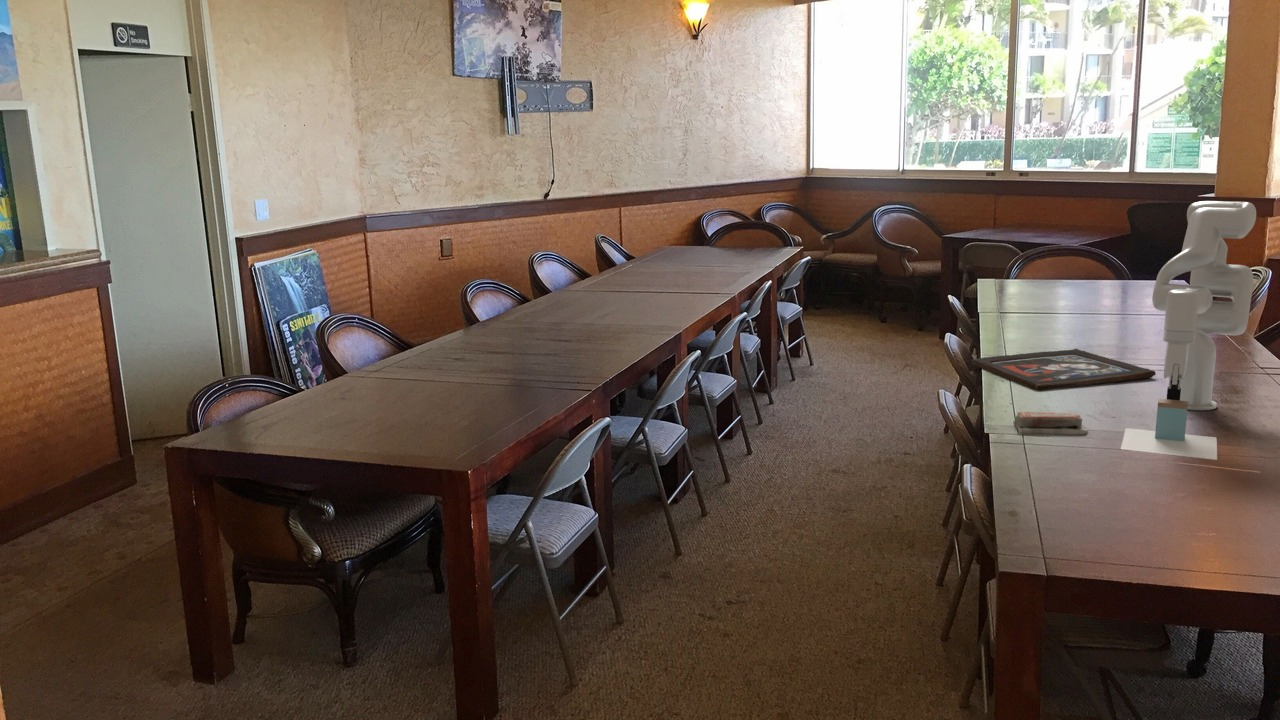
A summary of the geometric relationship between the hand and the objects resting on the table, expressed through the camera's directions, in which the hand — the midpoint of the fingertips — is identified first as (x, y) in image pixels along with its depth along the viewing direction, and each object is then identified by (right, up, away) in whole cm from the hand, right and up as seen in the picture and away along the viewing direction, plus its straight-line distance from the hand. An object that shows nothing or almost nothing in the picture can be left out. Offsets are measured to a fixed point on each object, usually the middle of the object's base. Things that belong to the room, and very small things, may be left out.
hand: (1172, 402), depth 278 cm
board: (-5, -11, -7) cm, 14 cm away
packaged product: (-30, -8, +9) cm, 32 cm away
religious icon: (-1, +7, +72) cm, 72 cm away
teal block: (-2, -9, -3) cm, 10 cm away
